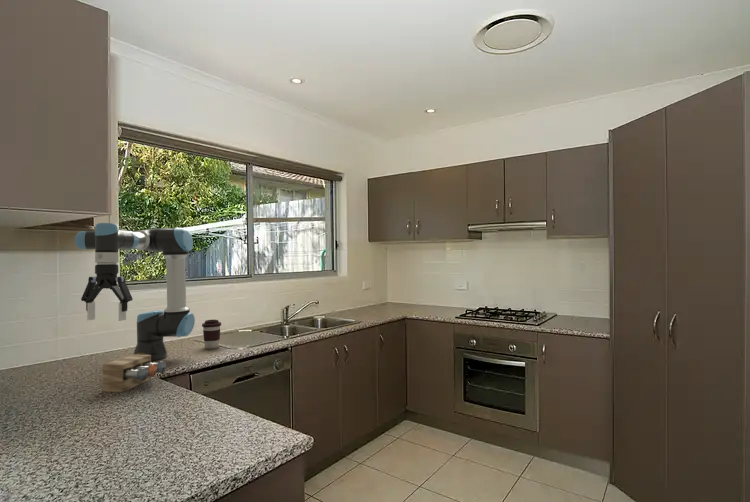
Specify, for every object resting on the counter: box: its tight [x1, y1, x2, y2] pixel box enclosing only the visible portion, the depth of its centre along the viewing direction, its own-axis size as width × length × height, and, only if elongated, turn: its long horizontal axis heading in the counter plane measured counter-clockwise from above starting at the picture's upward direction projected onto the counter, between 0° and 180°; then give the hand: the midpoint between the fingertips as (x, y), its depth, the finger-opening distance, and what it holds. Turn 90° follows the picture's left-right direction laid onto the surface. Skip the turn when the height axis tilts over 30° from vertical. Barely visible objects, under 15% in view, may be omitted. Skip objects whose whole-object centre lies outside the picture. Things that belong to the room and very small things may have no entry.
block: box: [102, 354, 152, 393], centre depth 164 cm, size 16×8×10 cm, turn 171°
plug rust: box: [133, 364, 158, 378], centre depth 164 cm, size 5×13×5 cm, turn 81°
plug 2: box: [143, 360, 167, 374], centre depth 169 cm, size 5×13×5 cm, turn 81°
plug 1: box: [123, 368, 148, 381], centre depth 158 cm, size 5×13×5 cm, turn 81°
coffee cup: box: [201, 319, 222, 350], centre depth 232 cm, size 10×10×15 cm
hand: (106, 320), depth 158 cm, fingers open, 13 cm apart
